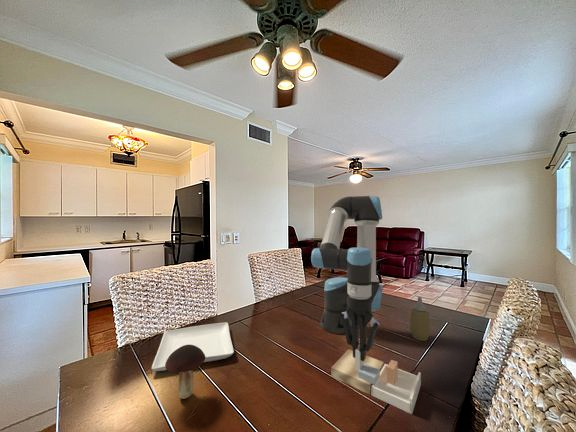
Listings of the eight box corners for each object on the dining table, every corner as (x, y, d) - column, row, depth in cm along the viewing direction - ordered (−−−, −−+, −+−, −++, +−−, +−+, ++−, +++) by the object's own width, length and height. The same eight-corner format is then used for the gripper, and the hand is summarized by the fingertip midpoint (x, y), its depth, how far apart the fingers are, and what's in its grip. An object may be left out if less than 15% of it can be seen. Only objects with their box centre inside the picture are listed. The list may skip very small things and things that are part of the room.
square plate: (164, 338, 103) (164, 330, 103) (227, 329, 112) (227, 321, 112) (150, 378, 77) (150, 367, 77) (234, 362, 86) (234, 351, 86)
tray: (371, 395, 70) (371, 381, 70) (384, 371, 81) (384, 359, 81) (412, 414, 63) (412, 399, 63) (420, 385, 74) (420, 372, 74)
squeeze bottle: (433, 343, 98) (433, 301, 99) (412, 341, 100) (412, 299, 100) (426, 334, 106) (426, 295, 107) (407, 332, 108) (407, 293, 108)
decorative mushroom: (209, 383, 75) (209, 336, 75) (197, 411, 64) (197, 356, 64) (175, 384, 74) (175, 337, 75) (156, 413, 63) (157, 357, 64)
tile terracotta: (386, 366, 75) (393, 369, 73) (391, 359, 78) (397, 361, 77) (387, 382, 74) (393, 385, 73) (391, 374, 78) (397, 377, 77)
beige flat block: (331, 376, 78) (331, 367, 78) (348, 356, 89) (348, 349, 89) (370, 394, 70) (370, 384, 70) (383, 370, 81) (383, 362, 81)
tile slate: (358, 377, 73) (358, 371, 73) (364, 369, 77) (364, 363, 77) (374, 384, 70) (374, 378, 70) (379, 375, 74) (379, 369, 74)
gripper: (335, 294, 77) (335, 366, 77) (375, 303, 69) (375, 384, 68) (345, 289, 83) (345, 356, 82) (383, 297, 75) (383, 371, 74)
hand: (359, 368), depth 75 cm, fingers closed
